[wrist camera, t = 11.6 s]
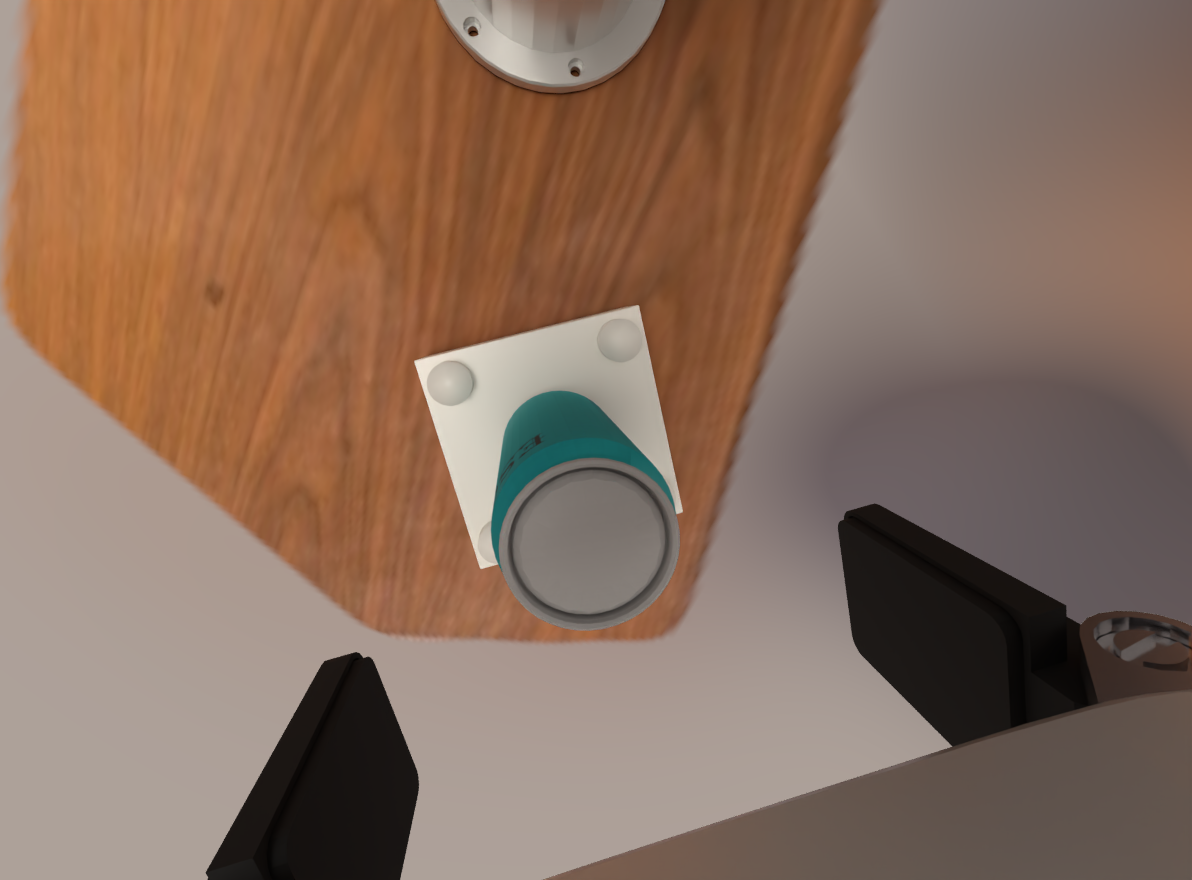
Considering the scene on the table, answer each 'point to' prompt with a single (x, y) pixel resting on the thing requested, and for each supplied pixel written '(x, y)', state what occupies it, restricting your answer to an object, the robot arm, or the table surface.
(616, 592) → the beverage can
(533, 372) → the brick
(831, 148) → the table surface
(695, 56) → the table surface
